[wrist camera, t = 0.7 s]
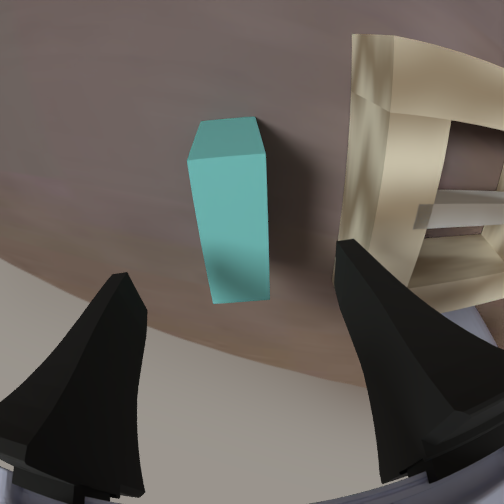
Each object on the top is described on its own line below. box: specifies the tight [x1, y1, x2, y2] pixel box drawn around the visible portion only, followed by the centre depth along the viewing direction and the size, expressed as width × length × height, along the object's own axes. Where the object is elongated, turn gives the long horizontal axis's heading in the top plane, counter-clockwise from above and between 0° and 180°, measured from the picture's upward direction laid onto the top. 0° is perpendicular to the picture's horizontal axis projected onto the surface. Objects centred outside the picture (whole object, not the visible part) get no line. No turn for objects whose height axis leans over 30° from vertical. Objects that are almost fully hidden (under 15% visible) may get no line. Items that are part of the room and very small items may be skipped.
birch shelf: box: [332, 34, 504, 313], centre depth 17 cm, size 18×18×5 cm
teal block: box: [187, 117, 270, 304], centre depth 16 cm, size 8×3×6 cm, turn 3°
